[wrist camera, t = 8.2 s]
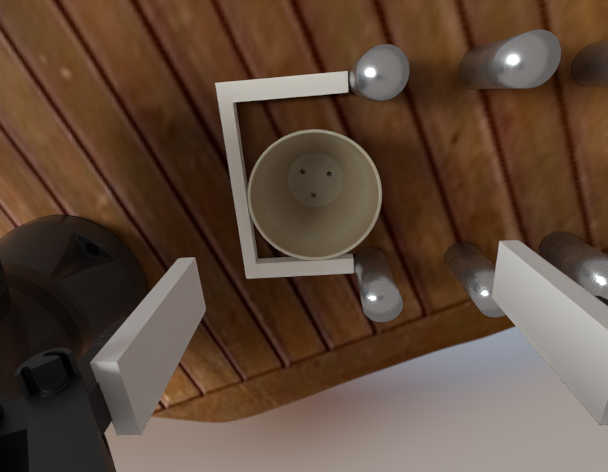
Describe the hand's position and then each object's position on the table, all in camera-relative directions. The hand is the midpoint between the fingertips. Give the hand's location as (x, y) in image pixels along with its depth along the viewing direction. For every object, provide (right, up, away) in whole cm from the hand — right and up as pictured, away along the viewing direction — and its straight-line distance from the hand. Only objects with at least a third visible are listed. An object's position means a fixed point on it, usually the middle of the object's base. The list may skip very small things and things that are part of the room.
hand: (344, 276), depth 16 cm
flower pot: (-1, +7, +18) cm, 19 cm away
